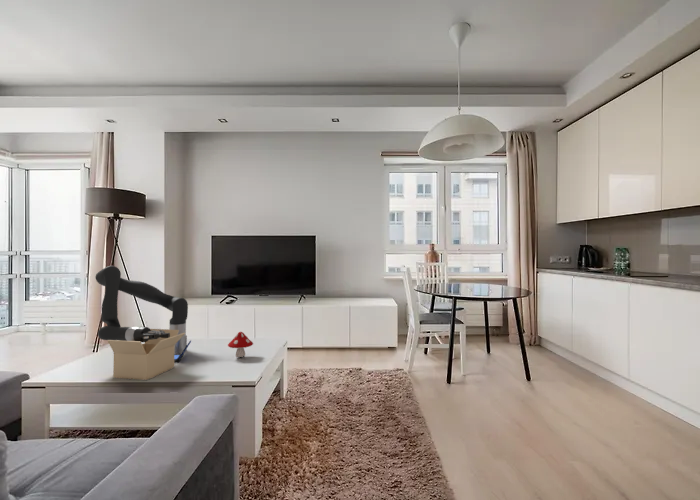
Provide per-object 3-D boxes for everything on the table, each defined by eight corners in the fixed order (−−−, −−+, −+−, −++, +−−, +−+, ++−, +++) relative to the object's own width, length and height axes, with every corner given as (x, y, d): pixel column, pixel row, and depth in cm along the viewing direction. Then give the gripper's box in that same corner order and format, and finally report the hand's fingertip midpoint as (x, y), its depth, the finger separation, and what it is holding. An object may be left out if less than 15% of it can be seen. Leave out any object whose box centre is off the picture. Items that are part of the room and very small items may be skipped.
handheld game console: (166, 357, 212) (167, 341, 213) (191, 355, 216) (191, 339, 216) (160, 364, 197) (160, 347, 198) (186, 362, 201) (186, 345, 201)
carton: (148, 363, 198) (149, 328, 198) (179, 365, 195) (179, 329, 195) (105, 380, 170) (105, 340, 170) (140, 383, 167) (140, 341, 167)
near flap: (184, 332, 189) (185, 333, 189) (173, 344, 190) (174, 345, 190) (160, 340, 171) (160, 341, 171) (148, 353, 172) (148, 354, 172)
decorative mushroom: (222, 360, 205) (222, 333, 205) (235, 353, 218) (235, 328, 219) (244, 361, 202) (245, 334, 202) (256, 355, 215) (257, 329, 215)
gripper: (128, 329, 177) (160, 330, 174) (147, 324, 190) (177, 325, 187) (128, 344, 177) (159, 346, 174) (147, 339, 190) (177, 340, 187)
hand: (169, 335), depth 181 cm, fingers closed
